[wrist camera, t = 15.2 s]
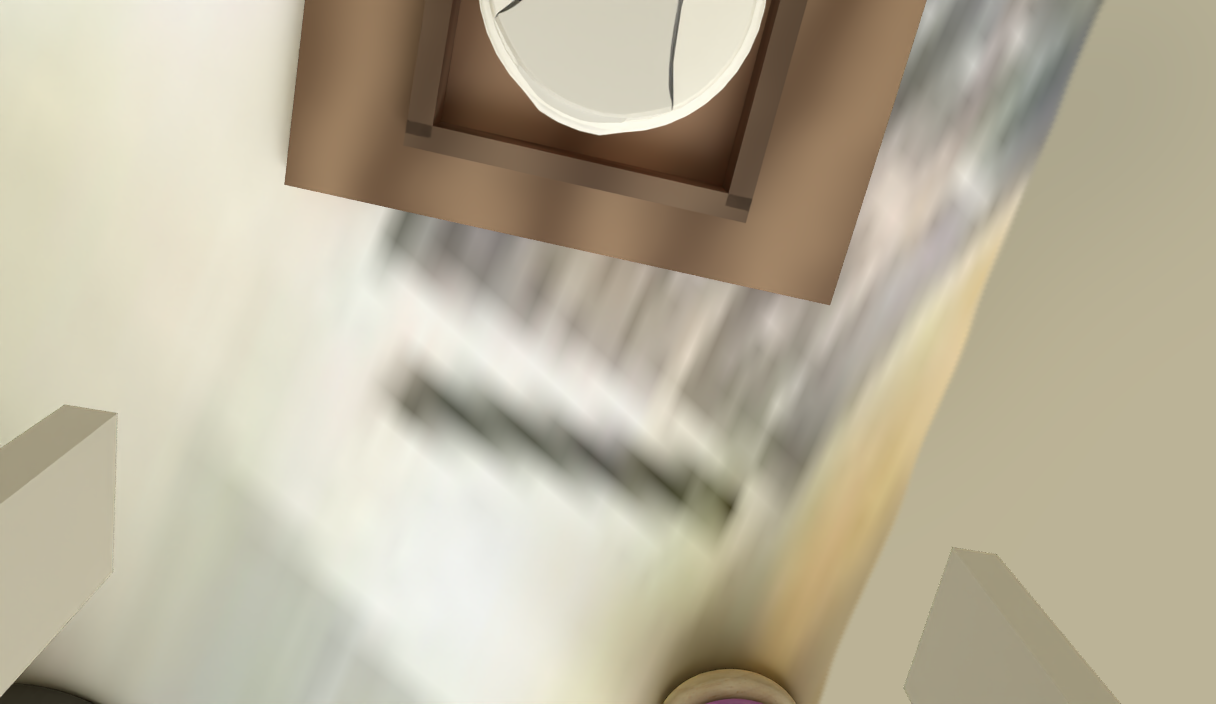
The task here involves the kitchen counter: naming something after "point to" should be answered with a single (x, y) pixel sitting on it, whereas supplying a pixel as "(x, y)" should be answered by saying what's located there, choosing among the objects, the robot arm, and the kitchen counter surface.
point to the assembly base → (609, 140)
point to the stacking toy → (729, 689)
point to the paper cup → (621, 56)
